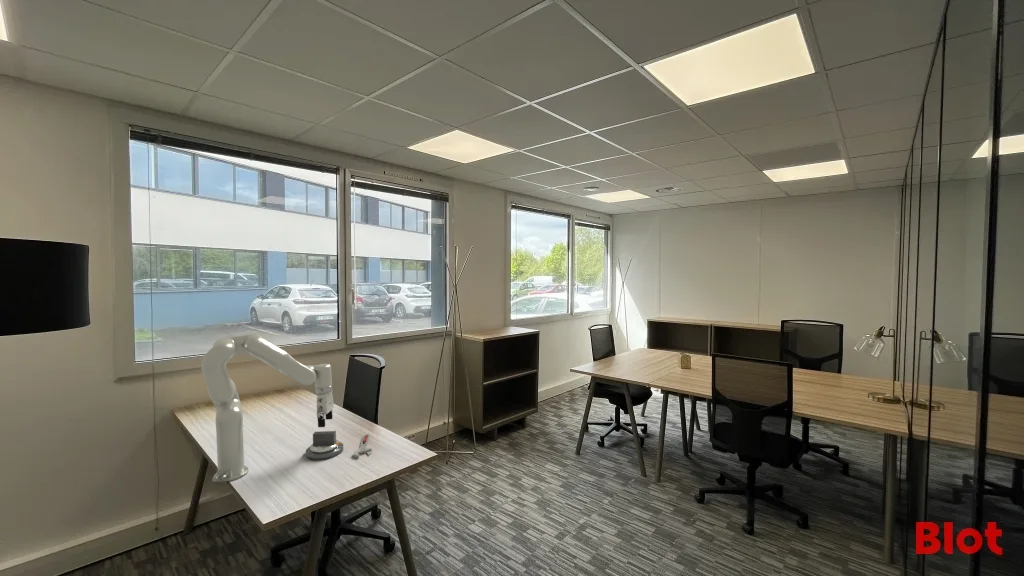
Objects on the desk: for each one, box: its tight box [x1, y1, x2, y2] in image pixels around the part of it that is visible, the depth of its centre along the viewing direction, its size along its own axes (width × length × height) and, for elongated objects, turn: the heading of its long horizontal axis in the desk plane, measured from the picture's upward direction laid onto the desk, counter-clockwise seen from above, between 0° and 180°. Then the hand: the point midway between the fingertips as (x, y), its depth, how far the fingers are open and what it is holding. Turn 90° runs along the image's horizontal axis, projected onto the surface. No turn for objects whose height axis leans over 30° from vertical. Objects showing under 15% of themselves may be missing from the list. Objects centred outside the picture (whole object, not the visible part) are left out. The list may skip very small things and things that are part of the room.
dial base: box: [305, 441, 344, 461], centre depth 197 cm, size 17×17×2 cm
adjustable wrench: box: [353, 433, 373, 459], centre depth 204 cm, size 8×26×2 cm, turn 8°
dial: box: [309, 430, 343, 453], centre depth 197 cm, size 14×13×8 cm
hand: (325, 422), depth 197 cm, fingers open, 9 cm apart
